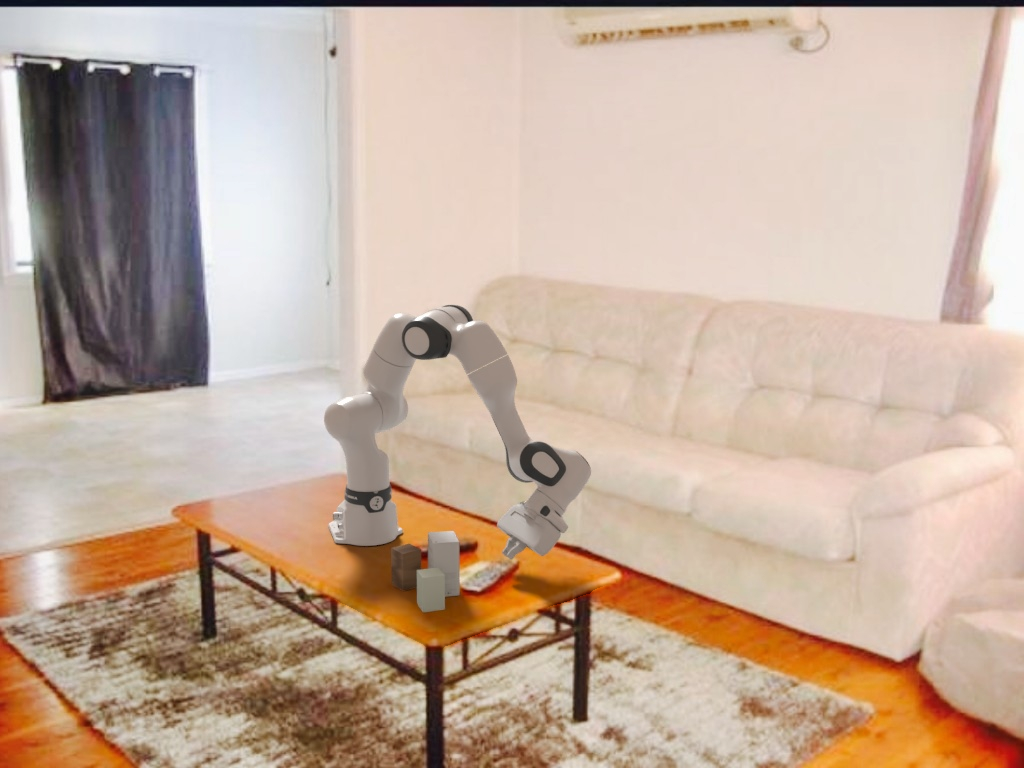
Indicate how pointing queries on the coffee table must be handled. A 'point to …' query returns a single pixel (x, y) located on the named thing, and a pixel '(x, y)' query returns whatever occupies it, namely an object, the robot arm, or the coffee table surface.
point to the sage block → (430, 589)
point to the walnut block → (405, 566)
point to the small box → (445, 558)
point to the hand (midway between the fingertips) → (506, 556)
